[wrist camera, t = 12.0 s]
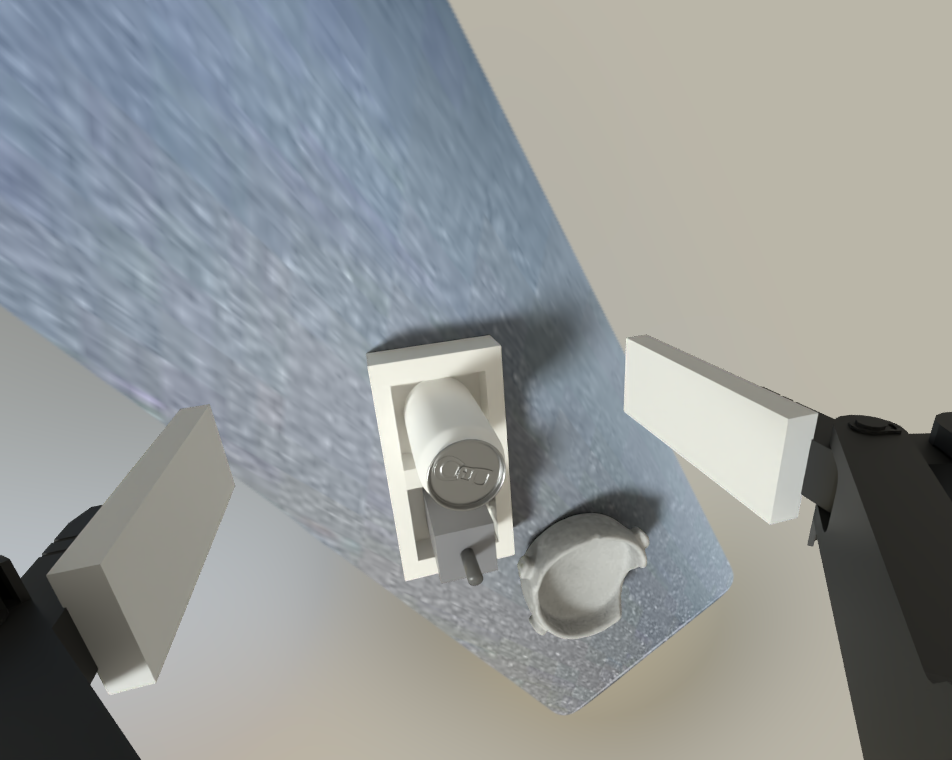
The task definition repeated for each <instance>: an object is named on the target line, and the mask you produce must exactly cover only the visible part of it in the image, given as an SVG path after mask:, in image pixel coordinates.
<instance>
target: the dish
mask: <svg viewBox="0 0 952 760" xmlns="http://www.w3.org/2000/svg"><path fill="white" fill-rule="evenodd" d="M648 546H649V537H648V536H647V535H646V534H645V533H644V532H643V531H642V530H641V529H640V528H638V527H633V528H632V529H627V528H626V527H625V526H623V525H622V524H621V523H619V522H618V521H616V520H615V519H613V518H611V517H609V516H606V515H603V514H598V513H585V514H578V515H574V516H571V517H568V518H566V519H563V520H561V521H559V522H557V523H555V524H554V525H552V526H551V527H549V528H548V529H547V530H545V531H544V532H543V533H542V534H541V535H540V536H538V537H537V538H536V539H535V540H534V542H533V543H532V544H531V545H530V547H529V548H528V550H527V551H526V553H525V555H524V556H522V557H521V558H520V560H519V562H518V564H517V567H518V570H519V577H520V582H521V588H522V592H523V595H524V598H525V601H526V603H527V605H528V607H529V609H530V611H531V613H532V615H531V616H530V618H529V621H530V623H531V625H532V626H533V628H534V629H535V631H537V633H539V634H540V635H545V634H546V632H547V631H549V632H550V633H552V634H553V635H555V636H557V637H560V638H564V639H578V638H583V637H588V636H591V635H594V634H597V633H599V632H601V631H604V630H605V629H607V628H608V627H609V626H611V625H613V624H615V623H616V622H617V621H619V619H620V618H621V591H622V585H623V581H624V578H625V576H626V575H627V573H628V572H629V571H630V570H631V569H635V568H638V567H641V568H644V567H646V565H647V557H646V554H645V548H647V547H648Z"/></svg>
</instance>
